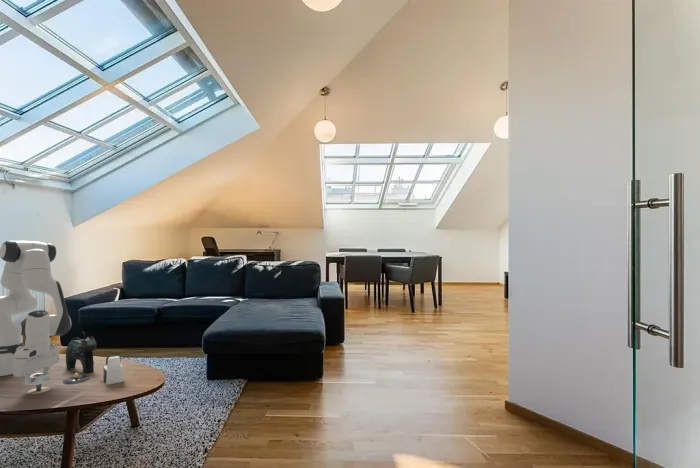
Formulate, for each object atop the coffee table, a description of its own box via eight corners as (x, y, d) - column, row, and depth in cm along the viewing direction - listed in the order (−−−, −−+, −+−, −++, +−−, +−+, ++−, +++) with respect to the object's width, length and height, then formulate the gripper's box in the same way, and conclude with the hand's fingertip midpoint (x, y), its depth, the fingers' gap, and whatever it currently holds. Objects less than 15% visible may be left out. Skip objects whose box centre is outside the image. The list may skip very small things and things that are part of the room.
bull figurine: (97, 371, 204) (97, 332, 204) (84, 375, 198) (84, 334, 198) (74, 366, 212) (74, 328, 213) (61, 369, 207) (61, 331, 207)
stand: (22, 395, 172) (22, 381, 172) (38, 388, 180) (38, 375, 180) (39, 396, 172) (39, 382, 172) (54, 389, 180) (54, 375, 180)
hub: (57, 385, 184) (57, 377, 184) (74, 378, 194) (74, 369, 194) (78, 386, 183) (78, 377, 183) (93, 378, 193) (93, 370, 193)
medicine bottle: (103, 381, 190) (103, 355, 190) (120, 377, 194) (120, 353, 194) (106, 385, 184) (106, 359, 184) (123, 381, 189) (123, 356, 189)
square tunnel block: (24, 384, 173) (25, 377, 173) (36, 379, 179) (37, 372, 179) (37, 384, 173) (38, 378, 173) (49, 379, 179) (49, 373, 179)
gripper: (50, 341, 187) (50, 371, 187) (9, 355, 166) (9, 388, 166) (63, 342, 186) (62, 372, 186) (23, 355, 166) (23, 388, 166)
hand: (37, 379), depth 176 cm, fingers closed on square tunnel block, 6 cm apart
